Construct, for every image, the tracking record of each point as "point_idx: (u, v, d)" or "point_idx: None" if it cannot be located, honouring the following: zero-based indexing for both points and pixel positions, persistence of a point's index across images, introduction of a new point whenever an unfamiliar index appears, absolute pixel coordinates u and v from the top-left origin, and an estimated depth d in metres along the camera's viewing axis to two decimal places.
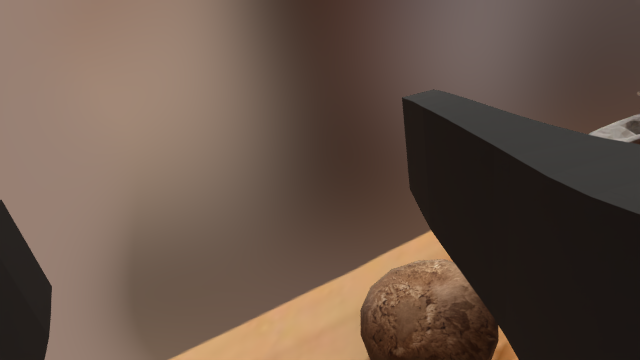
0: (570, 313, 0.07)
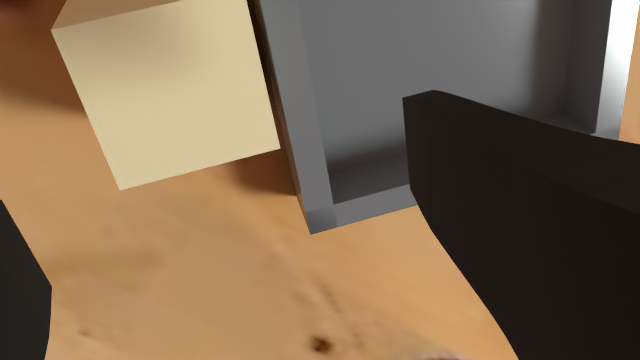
0: (570, 313, 0.07)
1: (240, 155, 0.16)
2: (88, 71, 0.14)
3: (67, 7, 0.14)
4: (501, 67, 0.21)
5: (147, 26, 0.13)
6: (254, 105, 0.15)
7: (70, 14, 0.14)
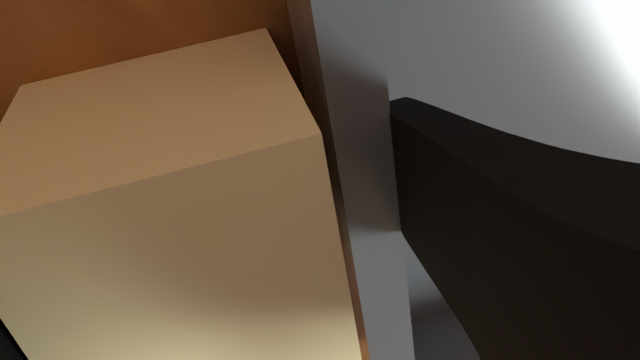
0: (528, 326, 0.07)
1: None
2: (24, 291, 0.07)
3: None
4: None
5: (137, 211, 0.07)
6: (326, 313, 0.09)
7: None
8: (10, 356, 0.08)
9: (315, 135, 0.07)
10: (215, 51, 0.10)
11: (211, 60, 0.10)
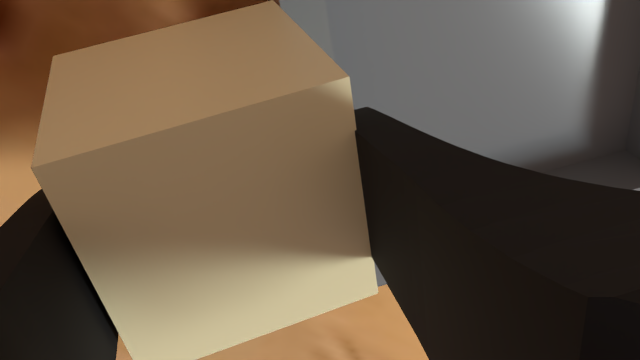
0: (469, 344, 0.06)
1: (322, 309, 0.11)
2: (96, 223, 0.08)
3: (51, 108, 0.09)
4: (559, 103, 0.18)
5: (195, 147, 0.08)
6: (348, 242, 0.10)
7: (59, 127, 0.08)
8: (63, 341, 0.08)
9: (344, 78, 0.08)
10: (232, 21, 0.11)
11: (230, 28, 0.11)
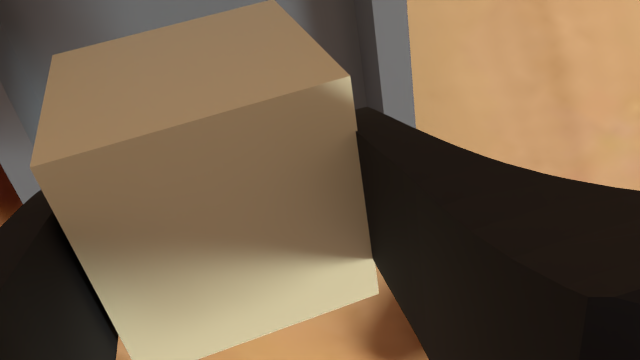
0: (469, 344, 0.06)
1: (322, 309, 0.10)
2: (95, 223, 0.08)
3: (50, 107, 0.09)
4: None
5: (195, 148, 0.08)
6: (349, 242, 0.10)
7: (58, 126, 0.08)
8: (63, 341, 0.08)
9: (344, 78, 0.08)
10: (232, 20, 0.11)
11: (230, 26, 0.11)
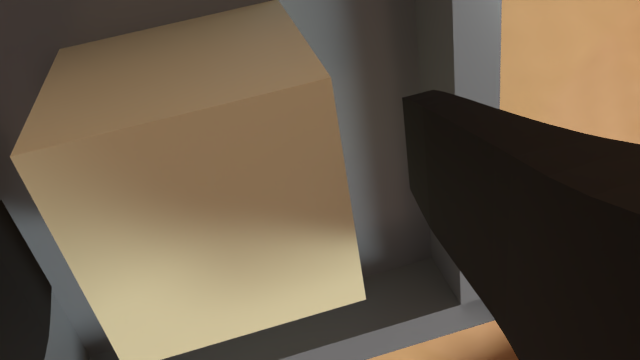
0: (570, 313, 0.07)
1: (307, 311, 0.10)
2: (75, 214, 0.08)
3: (43, 99, 0.09)
4: None
5: (173, 144, 0.08)
6: (334, 245, 0.10)
7: (46, 118, 0.09)
8: None
9: (325, 79, 0.08)
10: (233, 19, 0.11)
11: (230, 26, 0.11)
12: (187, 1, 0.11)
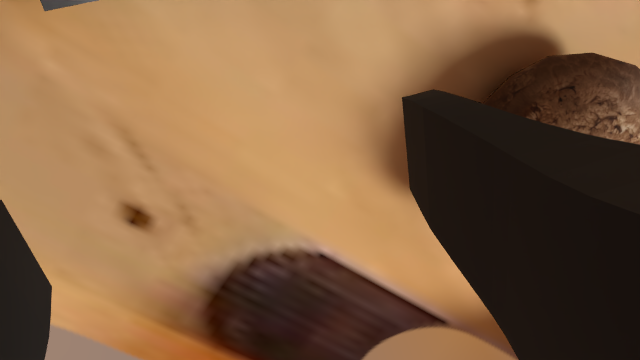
0: (570, 313, 0.07)
1: None
2: None
3: None
4: None
5: None
6: None
7: None
8: None
9: None
10: None
11: None
12: None
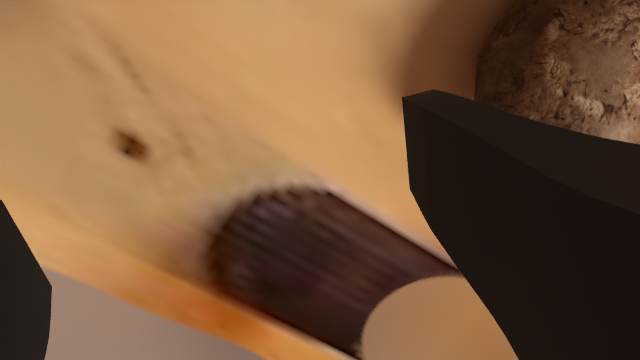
0: (570, 313, 0.07)
1: None
2: None
3: None
4: None
5: None
6: None
7: None
8: None
9: None
10: None
11: None
12: None
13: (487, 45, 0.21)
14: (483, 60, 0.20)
